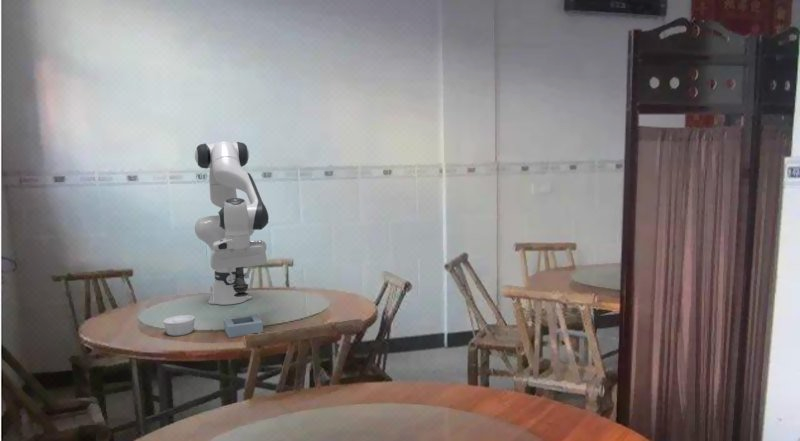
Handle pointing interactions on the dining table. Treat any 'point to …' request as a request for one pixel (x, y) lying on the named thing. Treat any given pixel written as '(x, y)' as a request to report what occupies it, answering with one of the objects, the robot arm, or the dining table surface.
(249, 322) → the caddy block
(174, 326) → the ramekin
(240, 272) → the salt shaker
